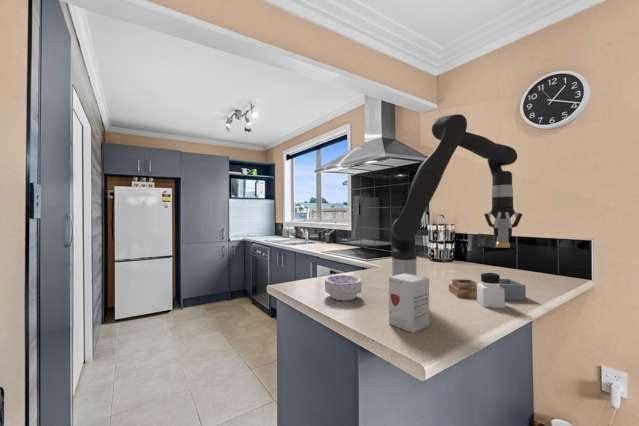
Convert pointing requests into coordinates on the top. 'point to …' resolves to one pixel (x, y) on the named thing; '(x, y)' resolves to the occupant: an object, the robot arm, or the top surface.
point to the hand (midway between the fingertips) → (502, 236)
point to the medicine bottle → (490, 291)
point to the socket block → (463, 288)
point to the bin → (513, 289)
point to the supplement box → (409, 302)
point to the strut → (503, 234)
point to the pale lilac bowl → (343, 287)
